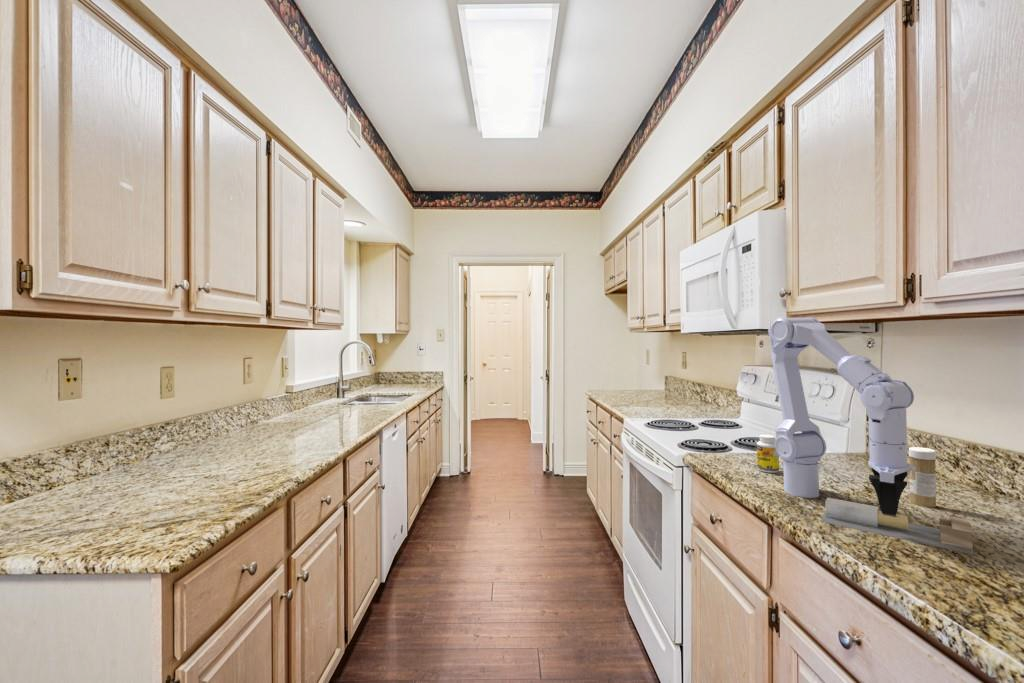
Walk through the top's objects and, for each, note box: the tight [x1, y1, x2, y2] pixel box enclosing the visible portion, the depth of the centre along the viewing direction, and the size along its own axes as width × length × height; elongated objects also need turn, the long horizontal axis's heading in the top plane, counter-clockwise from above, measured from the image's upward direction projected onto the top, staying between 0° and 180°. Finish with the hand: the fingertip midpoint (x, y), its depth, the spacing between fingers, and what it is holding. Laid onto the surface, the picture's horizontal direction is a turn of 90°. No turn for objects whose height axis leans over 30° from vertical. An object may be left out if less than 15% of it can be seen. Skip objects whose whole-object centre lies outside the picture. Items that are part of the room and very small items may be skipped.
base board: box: [820, 509, 975, 555], centre depth 87 cm, size 10×22×1 cm, turn 48°
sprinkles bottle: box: [908, 446, 937, 508], centre depth 98 cm, size 5×5×14 cm
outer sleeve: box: [824, 497, 879, 528], centre depth 91 cm, size 3×8×3 cm, turn 48°
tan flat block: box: [877, 510, 909, 530], centre depth 89 cm, size 2×12×7 cm, turn 47°
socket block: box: [938, 516, 974, 549], centre depth 81 cm, size 5×4×4 cm
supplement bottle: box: [756, 434, 780, 474], centre depth 128 cm, size 6×6×10 cm
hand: (889, 509), depth 87 cm, fingers open, 5 cm apart
